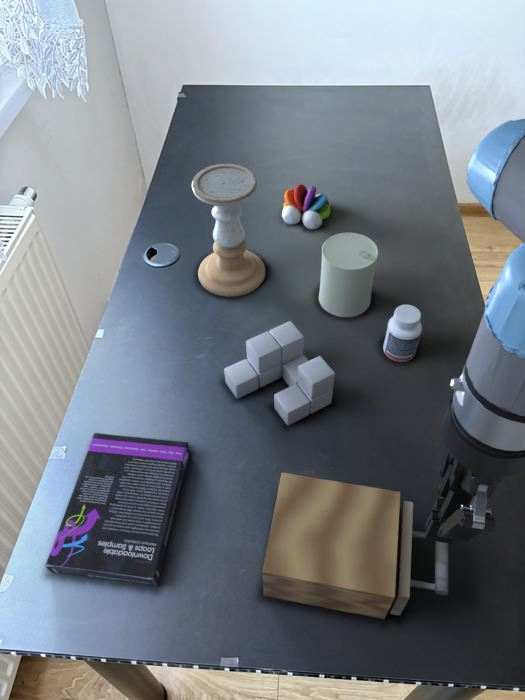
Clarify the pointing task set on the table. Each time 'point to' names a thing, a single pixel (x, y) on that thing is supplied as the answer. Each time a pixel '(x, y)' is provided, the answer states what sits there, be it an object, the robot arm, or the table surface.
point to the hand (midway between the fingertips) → (437, 533)
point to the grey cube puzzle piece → (283, 373)
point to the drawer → (405, 562)
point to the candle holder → (228, 231)
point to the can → (347, 274)
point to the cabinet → (333, 545)
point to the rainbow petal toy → (305, 207)
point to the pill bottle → (403, 333)
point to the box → (121, 510)
